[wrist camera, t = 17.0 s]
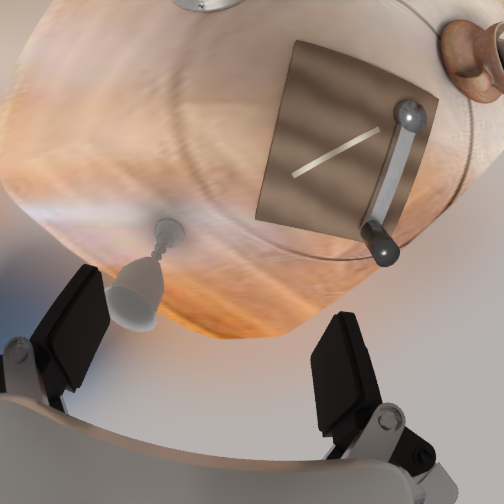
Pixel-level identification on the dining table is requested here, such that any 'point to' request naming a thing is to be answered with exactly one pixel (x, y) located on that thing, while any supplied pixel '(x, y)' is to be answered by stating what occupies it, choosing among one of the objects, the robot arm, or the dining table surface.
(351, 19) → the dining table surface
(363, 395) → the robot arm
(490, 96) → the ceramic jug
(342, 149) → the lever board
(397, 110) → the lever
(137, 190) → the dining table surface
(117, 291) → the chalice
